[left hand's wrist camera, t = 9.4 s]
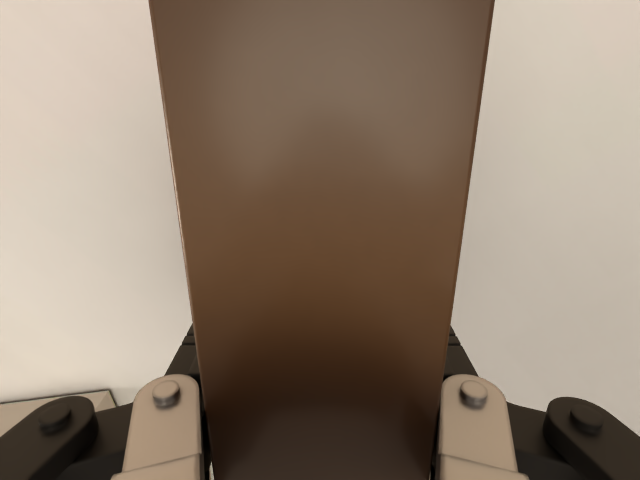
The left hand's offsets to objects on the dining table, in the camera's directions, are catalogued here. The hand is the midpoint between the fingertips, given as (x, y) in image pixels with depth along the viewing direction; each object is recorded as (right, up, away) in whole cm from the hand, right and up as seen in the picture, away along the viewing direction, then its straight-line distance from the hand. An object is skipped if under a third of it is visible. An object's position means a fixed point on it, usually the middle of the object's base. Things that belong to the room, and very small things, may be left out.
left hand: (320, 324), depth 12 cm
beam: (0, +20, -3) cm, 20 cm away
